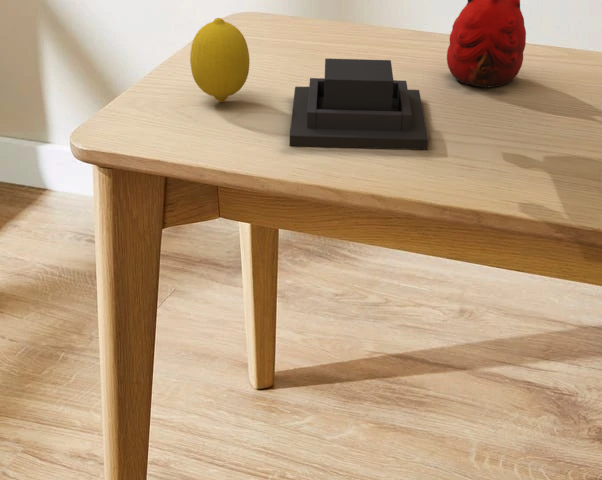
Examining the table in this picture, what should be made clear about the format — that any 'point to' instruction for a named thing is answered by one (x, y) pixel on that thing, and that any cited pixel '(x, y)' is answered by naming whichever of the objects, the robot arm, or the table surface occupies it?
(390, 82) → the plug pad
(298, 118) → the socket pad
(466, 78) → the red clay folk toy
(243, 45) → the lemon
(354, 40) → the table surface
